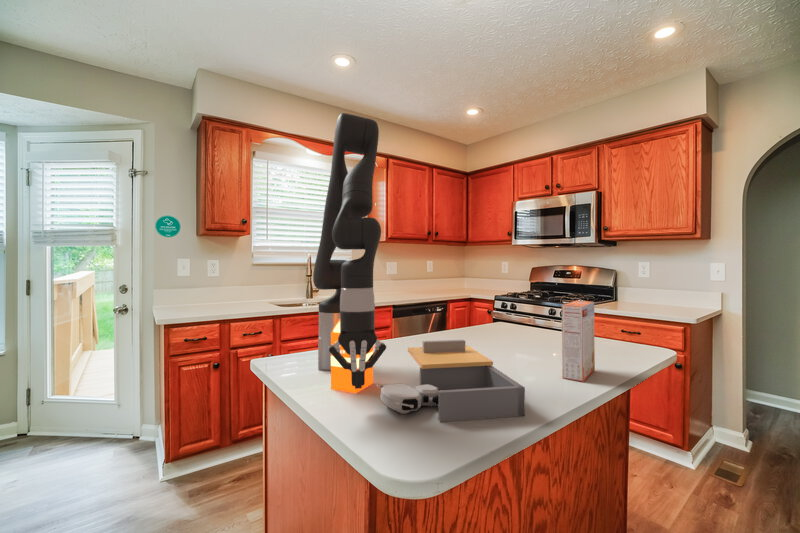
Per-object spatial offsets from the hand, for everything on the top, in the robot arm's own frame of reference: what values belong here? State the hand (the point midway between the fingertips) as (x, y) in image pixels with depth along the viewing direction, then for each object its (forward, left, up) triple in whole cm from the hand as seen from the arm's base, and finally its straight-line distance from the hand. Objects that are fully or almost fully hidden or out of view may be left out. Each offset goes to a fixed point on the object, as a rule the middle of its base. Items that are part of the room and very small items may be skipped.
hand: (357, 387), depth 81 cm
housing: (+25, 0, -5) cm, 25 cm away
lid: (+25, +16, +1) cm, 30 cm away
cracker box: (+65, +15, -5) cm, 67 cm away
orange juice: (0, +16, -5) cm, 17 cm away
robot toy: (+13, 0, -5) cm, 14 cm away
